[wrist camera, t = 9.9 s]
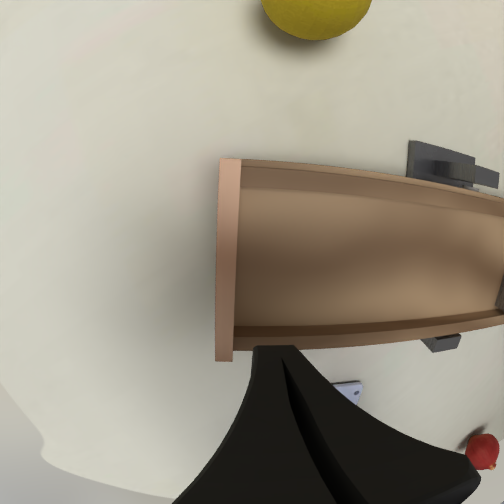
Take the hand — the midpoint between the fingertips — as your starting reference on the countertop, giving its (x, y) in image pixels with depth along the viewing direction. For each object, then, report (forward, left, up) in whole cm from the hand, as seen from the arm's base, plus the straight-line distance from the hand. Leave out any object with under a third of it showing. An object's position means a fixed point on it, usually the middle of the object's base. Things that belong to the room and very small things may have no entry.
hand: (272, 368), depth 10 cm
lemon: (+16, -2, -10) cm, 19 cm away
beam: (+2, -11, -7) cm, 13 cm away
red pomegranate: (-28, -36, -10) cm, 47 cm away
